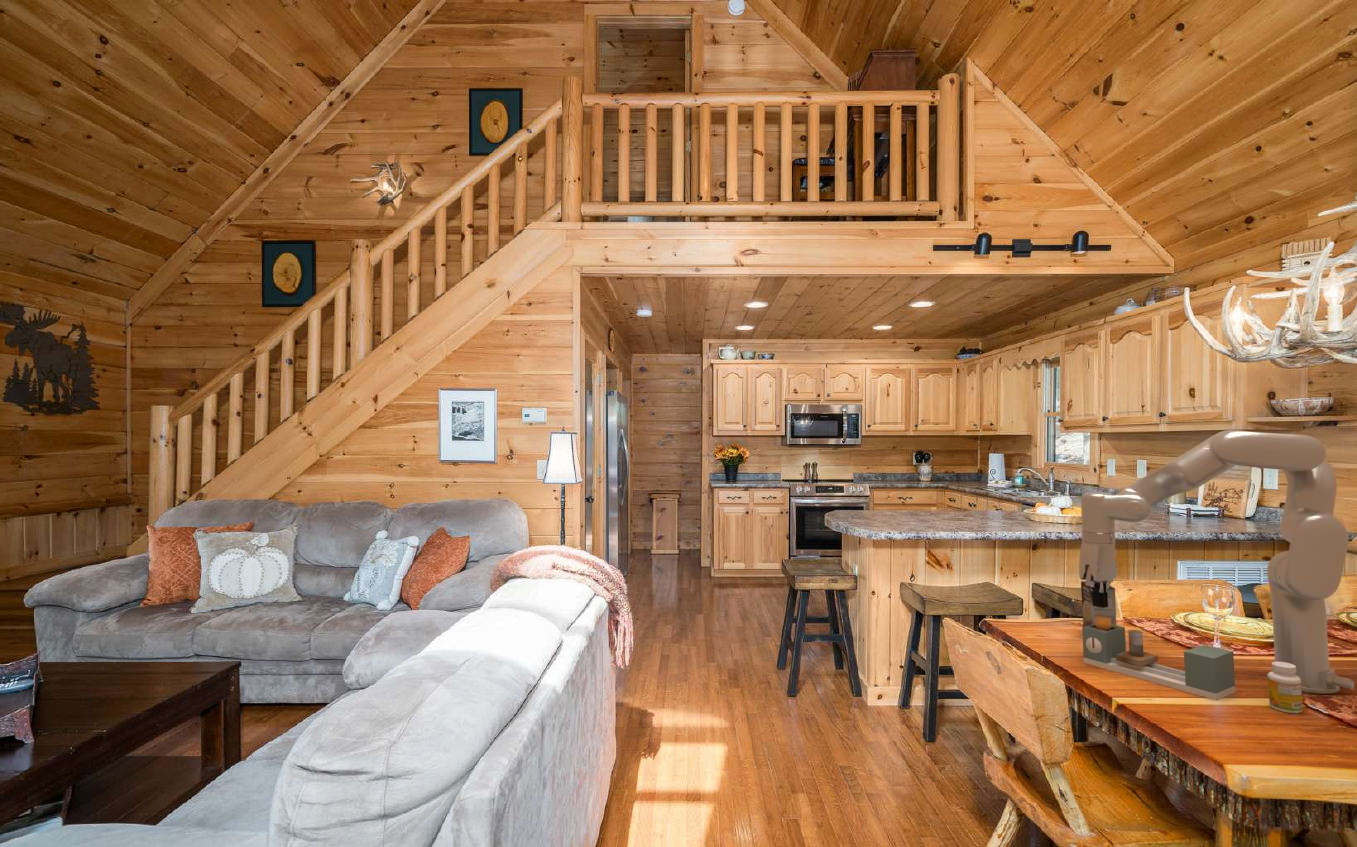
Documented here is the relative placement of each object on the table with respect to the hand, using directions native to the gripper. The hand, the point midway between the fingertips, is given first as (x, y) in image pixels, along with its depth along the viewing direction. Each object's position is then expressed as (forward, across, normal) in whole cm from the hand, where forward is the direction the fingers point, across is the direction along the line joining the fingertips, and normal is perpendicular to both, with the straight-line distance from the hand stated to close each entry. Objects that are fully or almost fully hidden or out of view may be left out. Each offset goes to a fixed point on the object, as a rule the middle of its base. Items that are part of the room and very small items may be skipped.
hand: (1100, 606), depth 177 cm
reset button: (+6, 0, +1) cm, 6 cm away
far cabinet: (+14, 0, +1) cm, 14 cm away
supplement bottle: (+15, -3, +38) cm, 41 cm away
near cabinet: (+13, 0, +24) cm, 28 cm away
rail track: (+15, 0, +13) cm, 20 cm away
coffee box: (+15, -21, -12) cm, 29 cm away
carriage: (+12, 0, +9) cm, 15 cm away
